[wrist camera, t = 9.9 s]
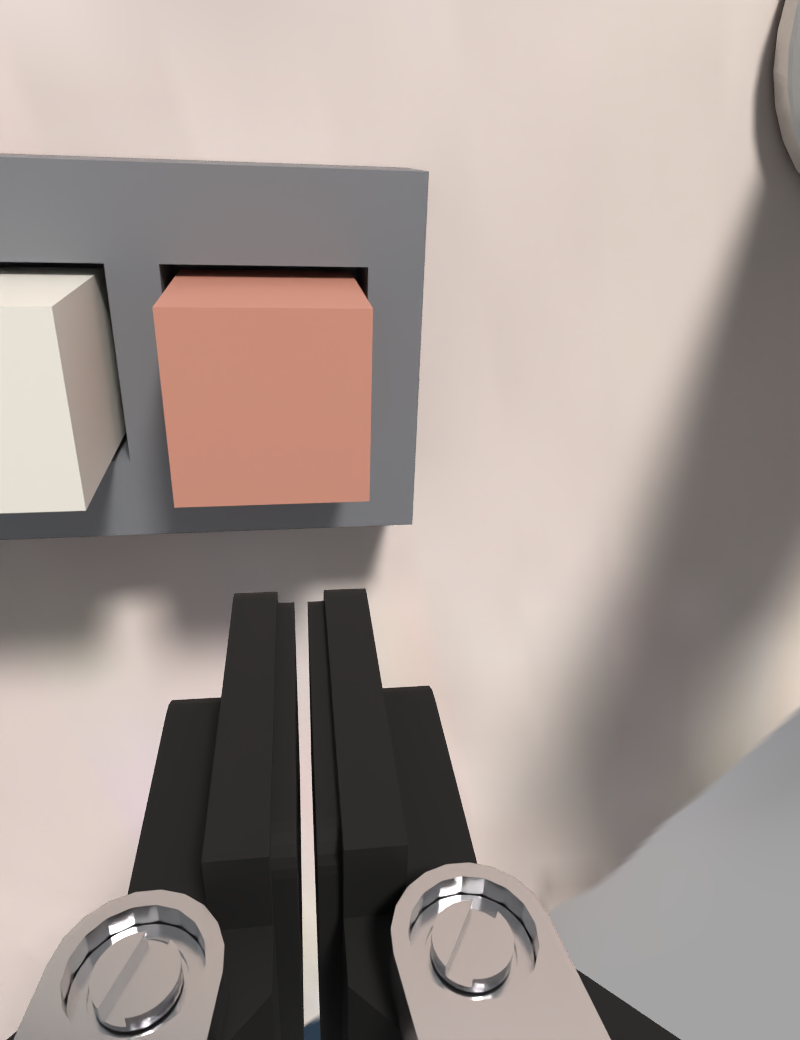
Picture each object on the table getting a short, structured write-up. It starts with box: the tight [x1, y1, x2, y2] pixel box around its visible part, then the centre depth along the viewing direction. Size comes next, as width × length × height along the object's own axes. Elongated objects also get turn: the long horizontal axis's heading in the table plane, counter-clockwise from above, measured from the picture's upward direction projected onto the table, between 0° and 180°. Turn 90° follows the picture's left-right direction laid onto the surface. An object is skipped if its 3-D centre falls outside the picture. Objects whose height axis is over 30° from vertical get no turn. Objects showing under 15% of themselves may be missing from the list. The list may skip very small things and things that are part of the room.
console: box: [0, 154, 429, 540], centre depth 25 cm, size 26×12×4 cm, turn 89°
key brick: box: [152, 269, 373, 508], centre depth 23 cm, size 6×6×6 cm
